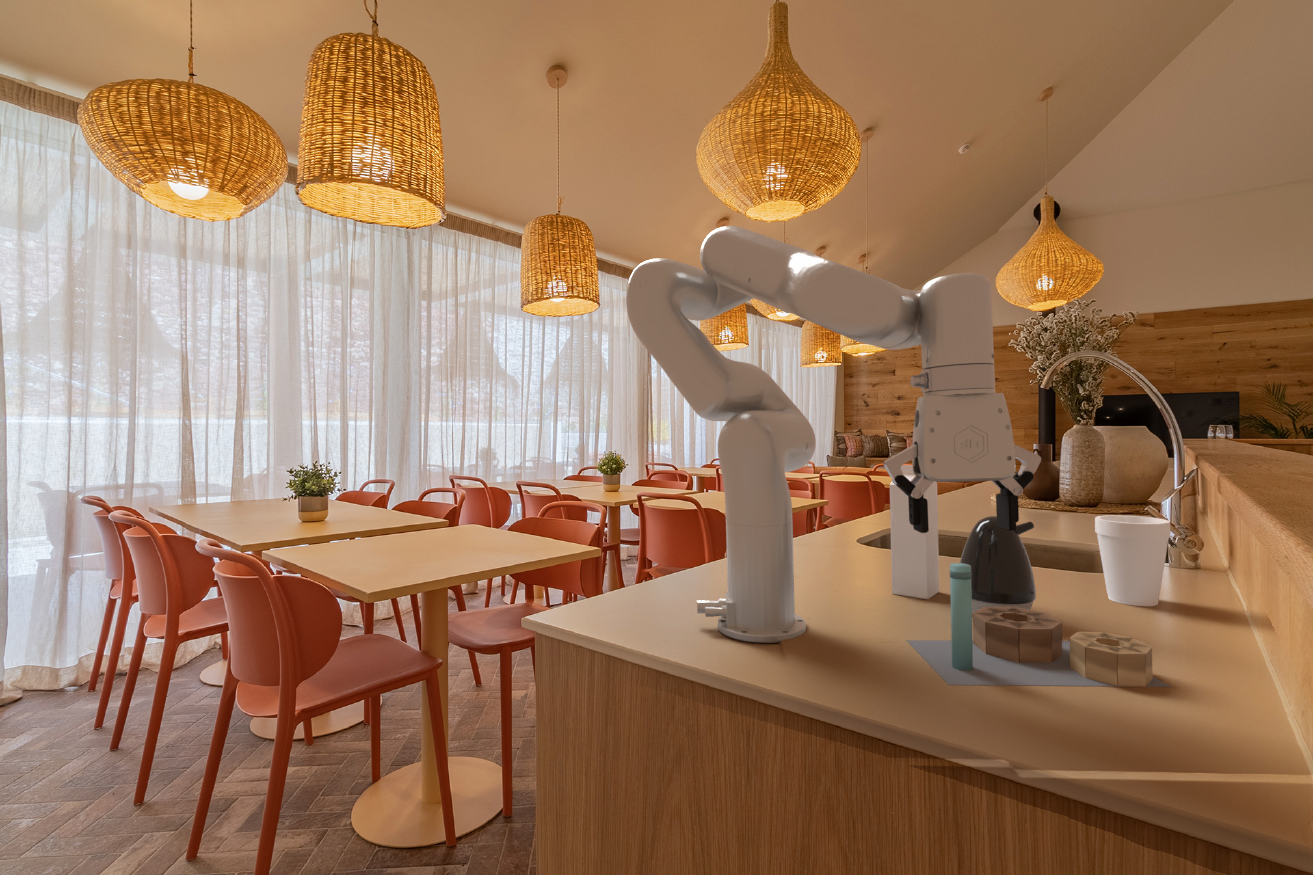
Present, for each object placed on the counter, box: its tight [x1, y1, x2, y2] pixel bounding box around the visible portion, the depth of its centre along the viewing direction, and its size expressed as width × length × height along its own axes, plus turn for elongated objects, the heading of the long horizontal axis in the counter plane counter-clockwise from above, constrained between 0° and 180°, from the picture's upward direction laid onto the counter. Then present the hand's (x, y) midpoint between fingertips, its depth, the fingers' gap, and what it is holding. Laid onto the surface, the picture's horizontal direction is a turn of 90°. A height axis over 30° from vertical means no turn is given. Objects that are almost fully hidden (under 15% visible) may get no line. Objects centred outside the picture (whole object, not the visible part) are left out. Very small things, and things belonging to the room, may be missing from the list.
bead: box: [972, 607, 1063, 663], centre depth 77 cm, size 9×9×4 cm
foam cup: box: [1094, 514, 1171, 607], centre depth 97 cm, size 10×9×13 cm
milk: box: [889, 464, 940, 600], centre depth 105 cm, size 6×6×22 cm
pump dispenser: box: [959, 515, 1037, 616], centre depth 90 cm, size 10×10×15 cm
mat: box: [906, 639, 1172, 688], centre depth 73 cm, size 23×14×1 cm, turn 85°
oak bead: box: [1069, 631, 1154, 687], centre depth 69 cm, size 7×7×4 cm
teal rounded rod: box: [949, 562, 973, 671], centre depth 71 cm, size 2×2×12 cm
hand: (963, 530), depth 71 cm, fingers open, 9 cm apart
